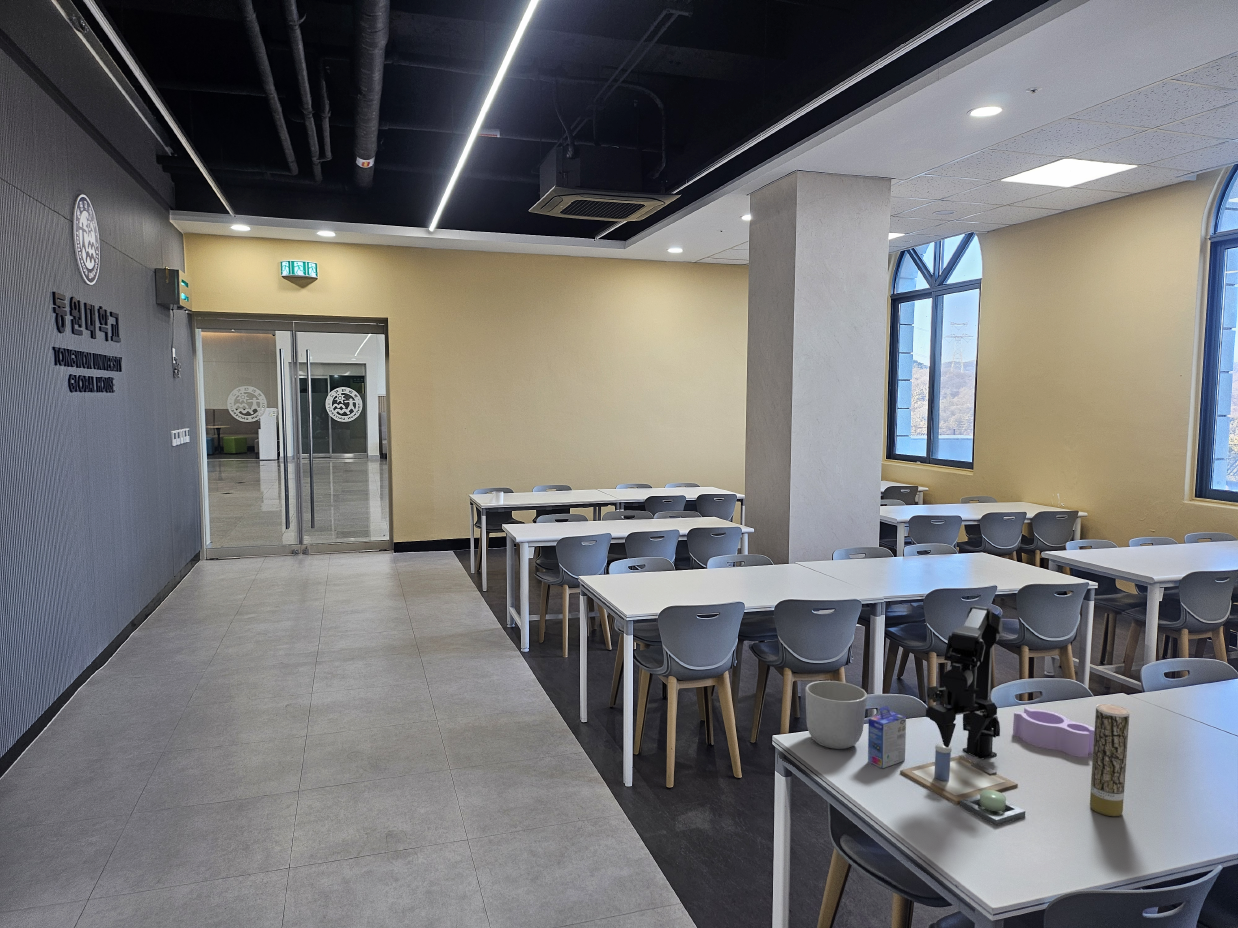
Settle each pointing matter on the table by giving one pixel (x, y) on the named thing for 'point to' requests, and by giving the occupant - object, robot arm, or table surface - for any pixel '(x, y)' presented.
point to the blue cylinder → (942, 762)
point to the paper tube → (1109, 759)
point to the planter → (835, 713)
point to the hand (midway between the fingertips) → (959, 743)
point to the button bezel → (996, 820)
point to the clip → (1053, 732)
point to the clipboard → (959, 779)
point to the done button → (992, 800)
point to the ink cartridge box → (886, 738)
